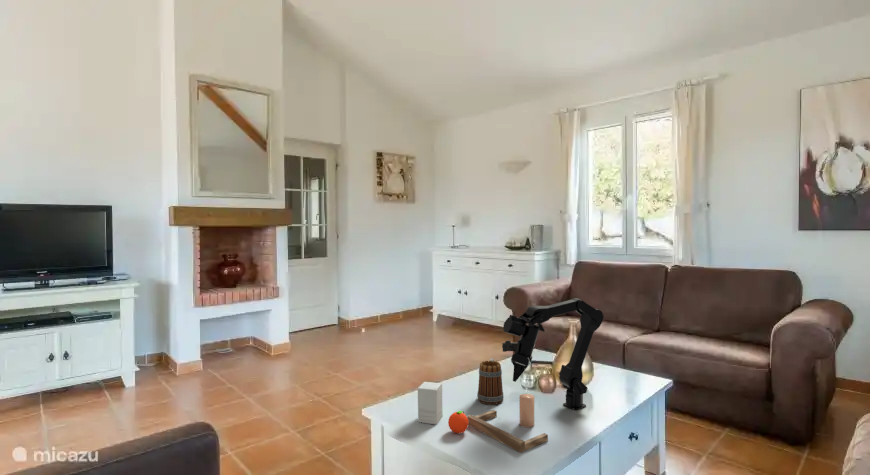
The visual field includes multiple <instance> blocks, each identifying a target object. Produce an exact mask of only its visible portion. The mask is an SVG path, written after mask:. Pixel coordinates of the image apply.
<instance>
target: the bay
mask: <svg viewBox="0 0 870 475" xmlns="http://www.w3.org/2000/svg"><path fill="white" fill-rule="evenodd" d="M497 414H498V413H497V410H495V409H492V410H489V411H485V412H484V413H480V414H478V415H473V414H469V415H466V416H467V418H468V422H469V423H468V426H470V427H471V428H473V429H475V430H477V431H479V432H481V433H483V434H484V435H486V436H488V437H489V438H492V439H494V440H495V441H498V442H499V443H502V444H504V446H505V445H506V446H508V447H509V448H511V449H513V450H515V451H517V452H519V453H522V452H525V451H527V450H530V449H531V448H534V447H536V446H539V445H542V444H544V443H545V442H548V440H549V435H548V434H547V433H545V432H544V433H540V434H538V435H536V436H534V437H531V438H528V439H526V440H523V439H521V438H519V437H517V436H515V435H513V434H511V433H509V432H507V431H505V430H503V429H501V428H499V427H496V426H495V425H493V424H492V423H489V422H487V421H488V420H491V419H494V418H497V416H498V415H497Z"/></svg>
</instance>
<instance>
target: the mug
mask: <svg viewBox="0 0 870 475" xmlns="http://www.w3.org/2000/svg"><path fill="white" fill-rule="evenodd" d="M502 372H503V370H502V365H501V363H500V362H499V361H498V362H497V361H496V360H495V358H491V357H490V358H489V360H485V361H484V360H483V361H481V362H480V364H479V368H478V387H477V388H478V391H477V400H478V401H479V402H480V403H481V404H484V405H487V406H489V405H491V406H493V405H499V404H501V403H503V401H504V391H503V378H502V377H503V376H502V375H503V373H502Z"/></svg>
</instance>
